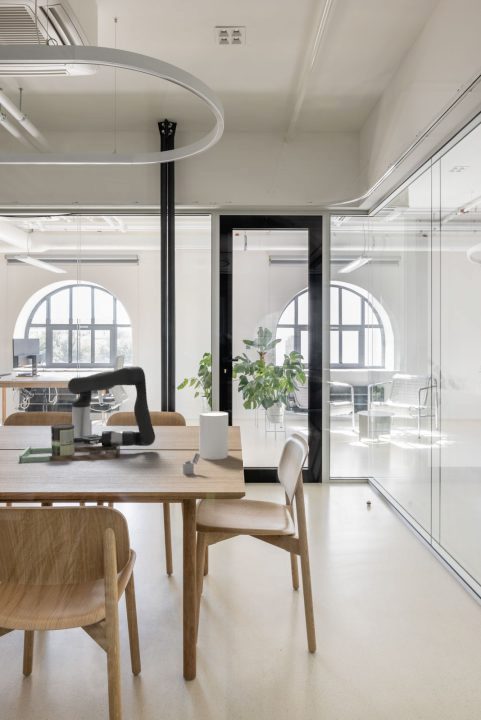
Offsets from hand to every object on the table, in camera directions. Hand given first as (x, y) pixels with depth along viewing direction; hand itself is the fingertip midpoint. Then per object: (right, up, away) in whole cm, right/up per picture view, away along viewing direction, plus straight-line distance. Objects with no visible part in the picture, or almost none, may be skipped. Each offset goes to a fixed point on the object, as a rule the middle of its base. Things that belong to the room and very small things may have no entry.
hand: (74, 440), depth 235 cm
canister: (+65, -8, +1) cm, 66 cm away
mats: (+12, -7, +3) cm, 15 cm away
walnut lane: (-1, -7, 0) cm, 7 cm away
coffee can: (-5, -7, -1) cm, 9 cm away
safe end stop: (-15, -7, -3) cm, 17 cm away
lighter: (+58, -9, -28) cm, 65 cm away
